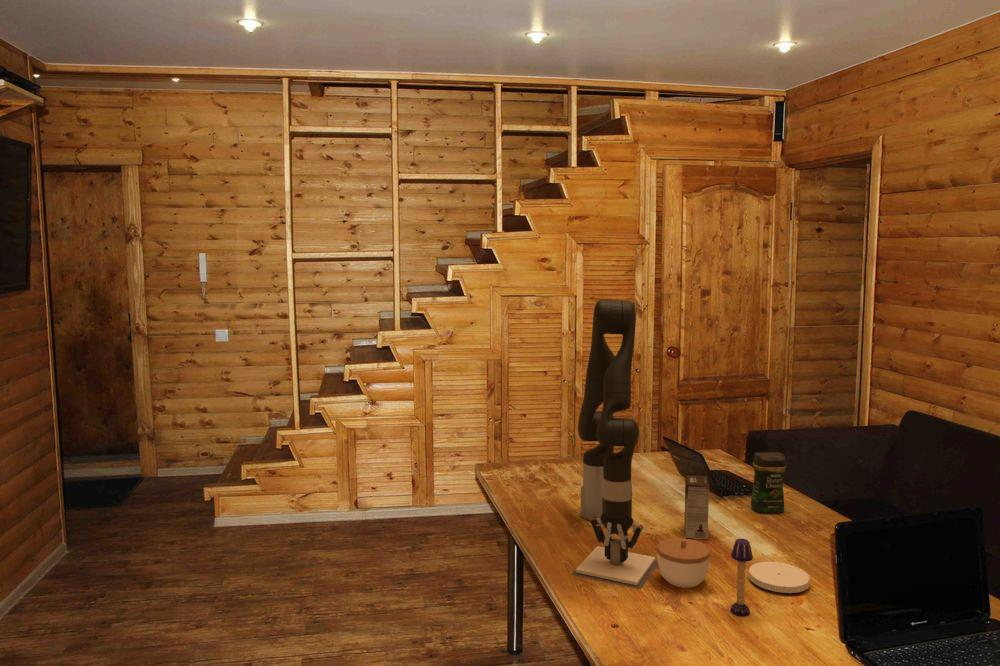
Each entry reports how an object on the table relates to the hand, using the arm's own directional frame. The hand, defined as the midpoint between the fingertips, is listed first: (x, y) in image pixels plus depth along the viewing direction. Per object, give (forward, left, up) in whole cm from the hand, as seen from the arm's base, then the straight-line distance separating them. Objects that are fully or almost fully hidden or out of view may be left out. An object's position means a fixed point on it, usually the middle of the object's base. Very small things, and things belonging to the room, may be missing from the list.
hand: (616, 559), depth 184 cm
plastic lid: (+38, +11, -3) cm, 40 cm away
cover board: (0, 0, -2) cm, 2 cm away
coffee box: (+13, +33, -3) cm, 36 cm away
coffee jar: (+29, +62, -3) cm, 68 cm away
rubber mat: (0, 0, -3) cm, 3 cm away
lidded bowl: (+17, 0, -3) cm, 17 cm away
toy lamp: (+32, -8, -3) cm, 33 cm away
